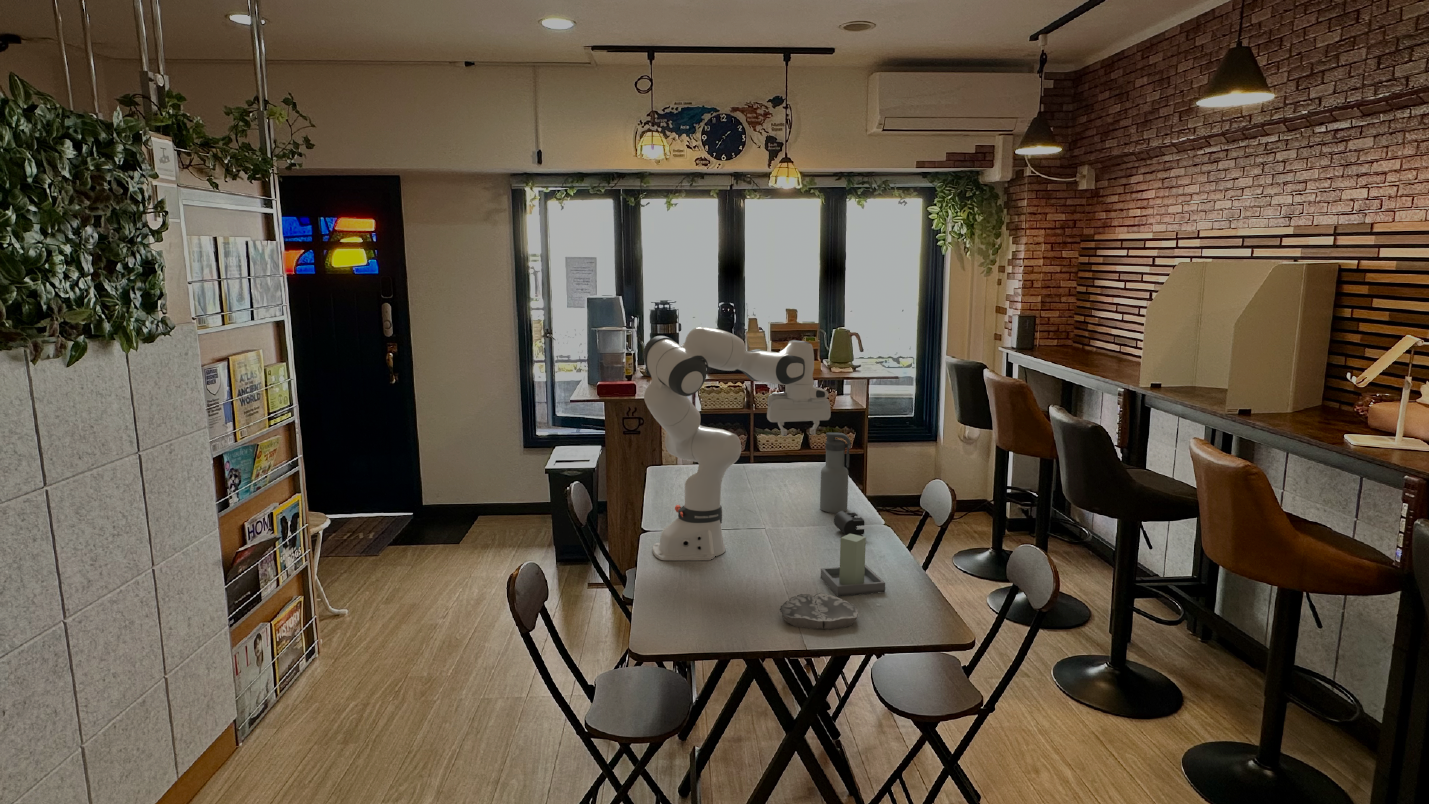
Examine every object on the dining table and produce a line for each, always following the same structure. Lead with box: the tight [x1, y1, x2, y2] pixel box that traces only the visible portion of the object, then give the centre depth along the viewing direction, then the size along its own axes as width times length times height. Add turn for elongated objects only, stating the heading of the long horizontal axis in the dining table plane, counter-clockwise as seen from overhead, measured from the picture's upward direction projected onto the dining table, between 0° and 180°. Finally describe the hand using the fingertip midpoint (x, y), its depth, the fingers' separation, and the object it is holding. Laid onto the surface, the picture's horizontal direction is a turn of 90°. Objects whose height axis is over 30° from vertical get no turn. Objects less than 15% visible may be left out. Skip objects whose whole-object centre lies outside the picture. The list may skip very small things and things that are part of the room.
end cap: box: [833, 511, 866, 537], centre depth 276 cm, size 10×7×7 cm
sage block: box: [839, 533, 867, 585], centre depth 233 cm, size 5×5×13 cm
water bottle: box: [819, 431, 852, 514], centre depth 302 cm, size 10×10×28 cm
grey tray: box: [820, 564, 886, 598], centre depth 234 cm, size 14×14×3 cm
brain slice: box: [779, 593, 859, 630], centre depth 213 cm, size 20×17×3 cm
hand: (798, 434), depth 267 cm, fingers open, 8 cm apart
